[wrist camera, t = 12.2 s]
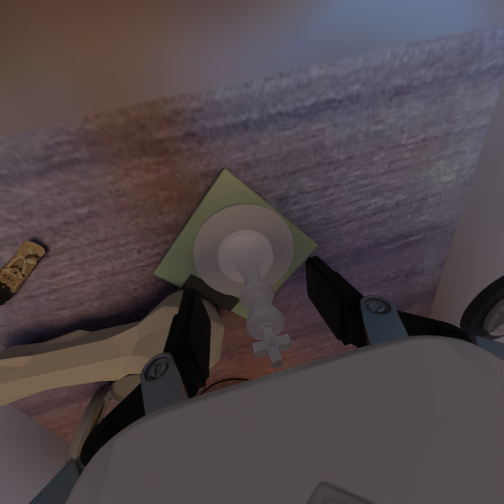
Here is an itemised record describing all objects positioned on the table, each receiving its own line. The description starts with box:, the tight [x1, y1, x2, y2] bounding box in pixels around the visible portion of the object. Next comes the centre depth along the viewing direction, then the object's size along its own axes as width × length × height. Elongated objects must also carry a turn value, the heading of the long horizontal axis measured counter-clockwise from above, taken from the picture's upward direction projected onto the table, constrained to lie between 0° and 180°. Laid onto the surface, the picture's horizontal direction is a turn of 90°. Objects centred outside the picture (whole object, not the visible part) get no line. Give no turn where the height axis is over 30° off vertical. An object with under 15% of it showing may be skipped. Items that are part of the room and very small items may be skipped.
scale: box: [153, 168, 318, 319], centre depth 18 cm, size 11×11×3 cm
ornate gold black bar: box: [0, 241, 45, 306], centre depth 16 cm, size 8×2×1 cm, turn 132°
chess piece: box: [217, 230, 292, 368], centre depth 12 cm, size 5×5×10 cm
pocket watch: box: [66, 374, 141, 464], centre depth 21 cm, size 8×8×10 cm
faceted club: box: [0, 289, 225, 405], centre depth 18 cm, size 9×8×25 cm
